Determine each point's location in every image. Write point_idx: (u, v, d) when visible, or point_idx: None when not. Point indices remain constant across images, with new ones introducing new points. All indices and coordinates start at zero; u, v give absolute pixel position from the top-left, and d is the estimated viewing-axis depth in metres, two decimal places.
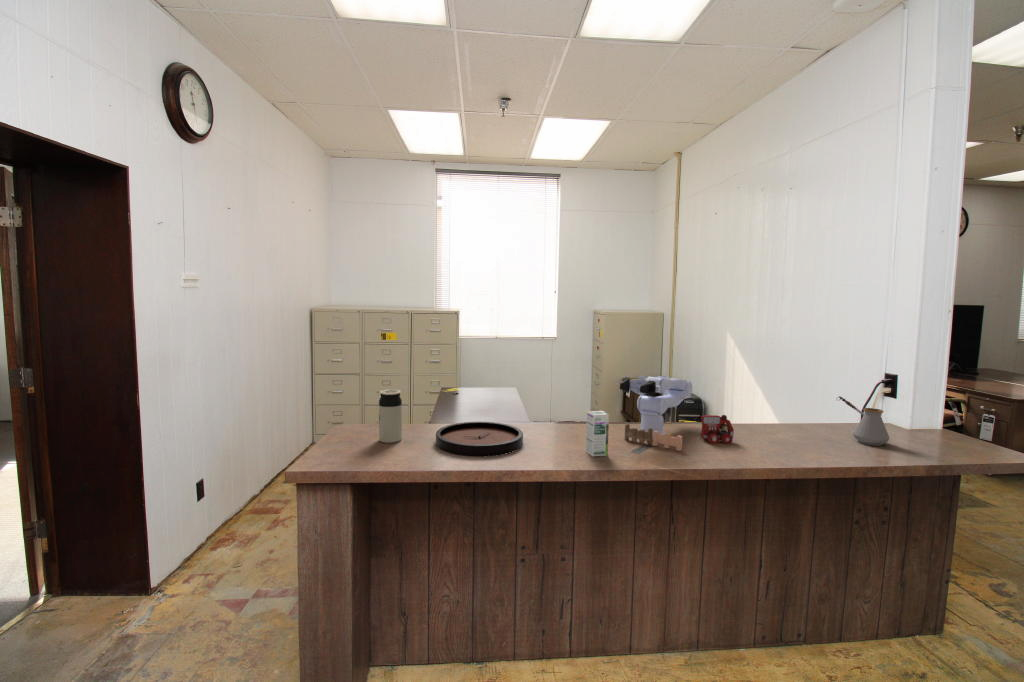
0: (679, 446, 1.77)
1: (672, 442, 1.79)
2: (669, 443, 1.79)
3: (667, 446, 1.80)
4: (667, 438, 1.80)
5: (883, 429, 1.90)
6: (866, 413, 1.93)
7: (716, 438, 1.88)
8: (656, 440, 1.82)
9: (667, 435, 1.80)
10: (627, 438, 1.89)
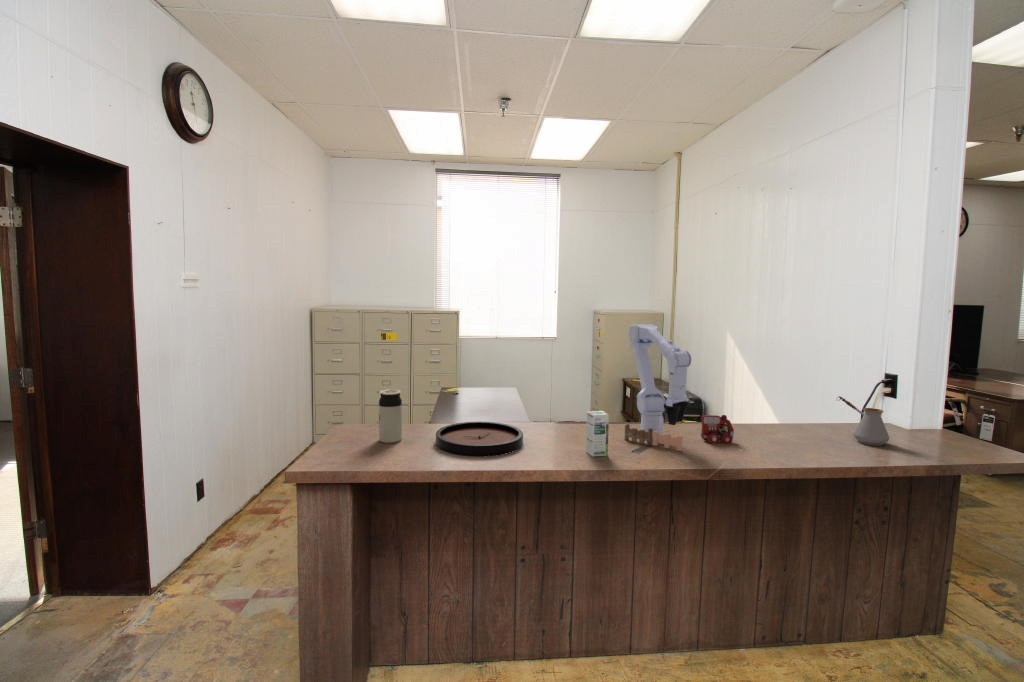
0: (679, 446, 1.77)
1: (672, 442, 1.79)
2: (669, 443, 1.79)
3: (667, 446, 1.80)
4: (667, 438, 1.80)
5: (883, 429, 1.90)
6: (866, 413, 1.93)
7: (716, 438, 1.88)
8: (656, 440, 1.82)
9: (667, 435, 1.80)
10: (627, 438, 1.89)
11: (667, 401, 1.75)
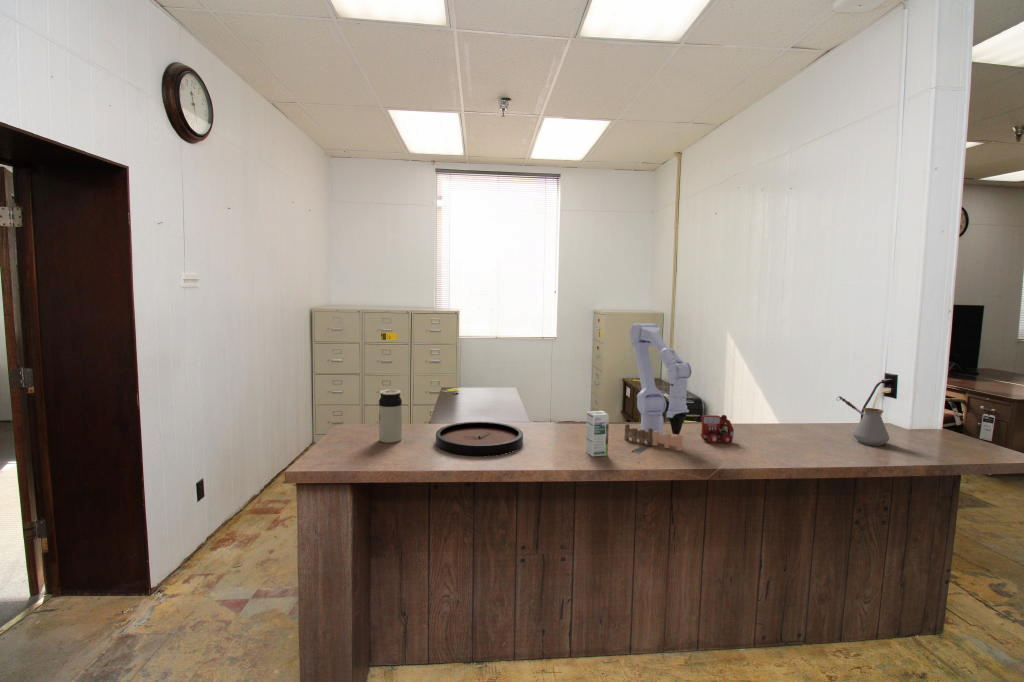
0: (679, 446, 1.77)
1: (672, 442, 1.79)
2: (669, 443, 1.79)
3: (667, 446, 1.80)
4: (667, 438, 1.80)
5: (883, 429, 1.90)
6: (866, 413, 1.93)
7: (716, 438, 1.88)
8: (656, 440, 1.82)
9: (667, 435, 1.80)
10: (627, 438, 1.89)
11: (667, 412, 1.76)
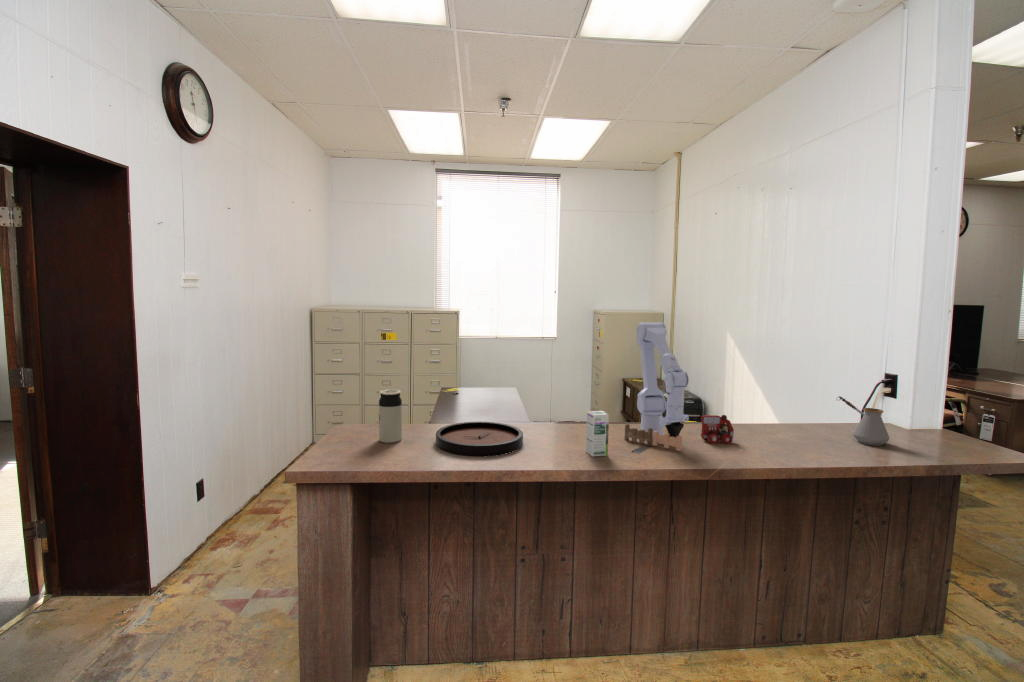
0: (679, 446, 1.77)
1: (672, 442, 1.79)
2: (669, 443, 1.79)
3: (667, 446, 1.80)
4: (667, 438, 1.79)
5: (883, 429, 1.90)
6: (866, 413, 1.93)
7: (716, 438, 1.88)
8: (656, 440, 1.82)
9: (667, 435, 1.79)
10: (627, 438, 1.89)
11: (660, 421, 1.76)
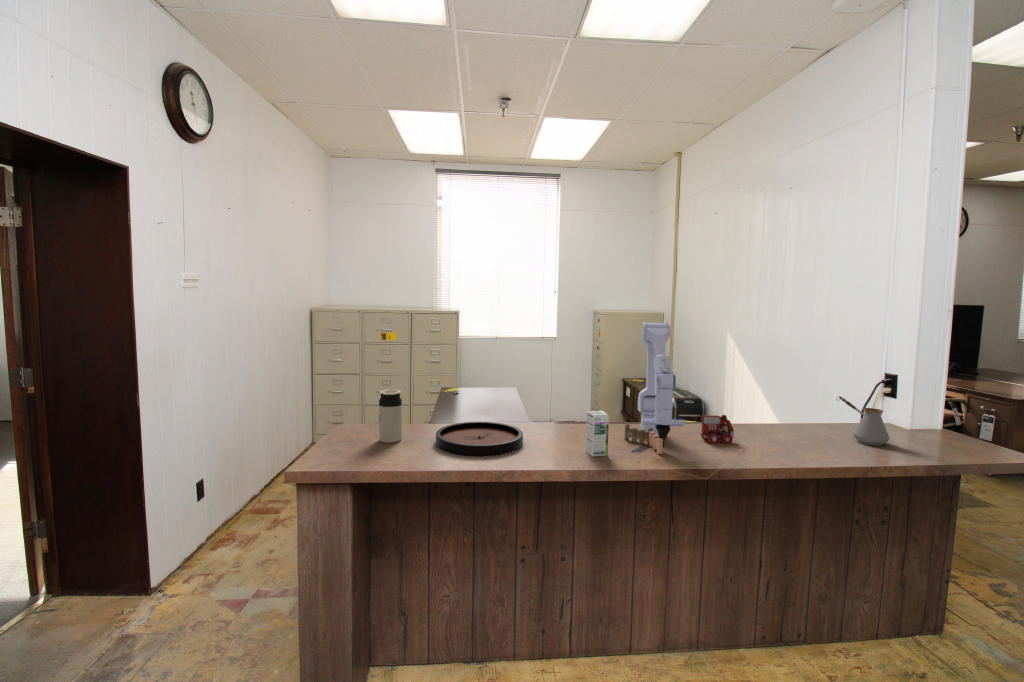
0: (658, 449, 1.73)
1: (656, 444, 1.76)
2: (655, 445, 1.77)
3: (654, 448, 1.78)
4: (654, 439, 1.78)
5: (883, 429, 1.90)
6: (866, 413, 1.93)
7: (716, 438, 1.88)
8: (650, 440, 1.82)
9: (654, 436, 1.77)
10: (627, 438, 1.89)
11: (641, 420, 1.77)
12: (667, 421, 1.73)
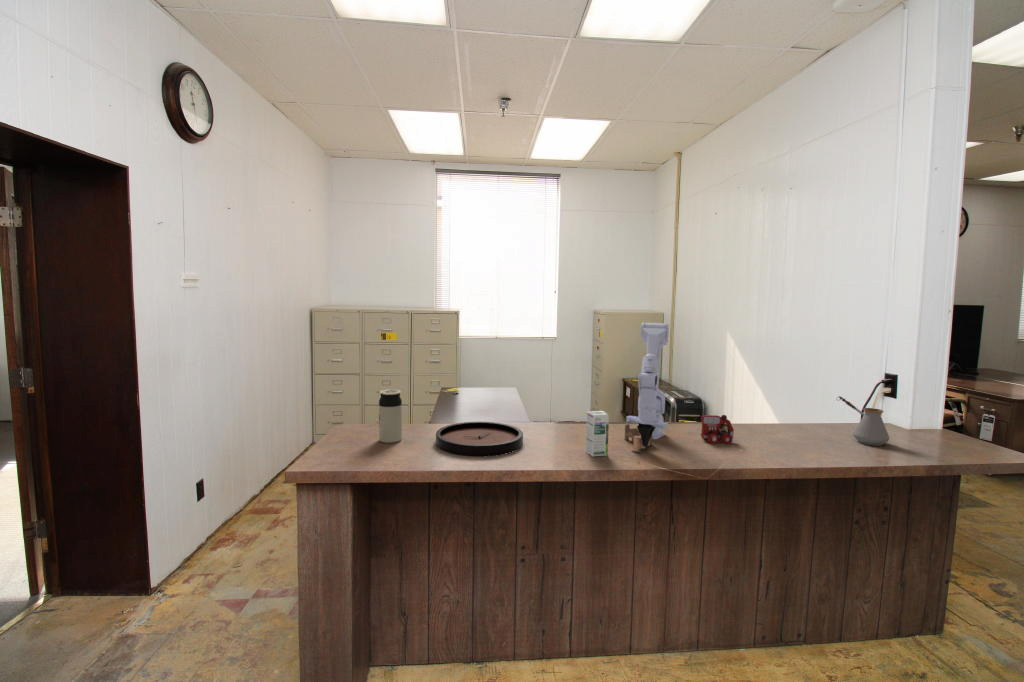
0: None
1: None
2: None
3: None
4: None
5: (883, 429, 1.90)
6: (866, 413, 1.93)
7: (716, 438, 1.88)
8: None
9: None
10: (627, 438, 1.89)
11: None
12: (645, 420, 1.73)
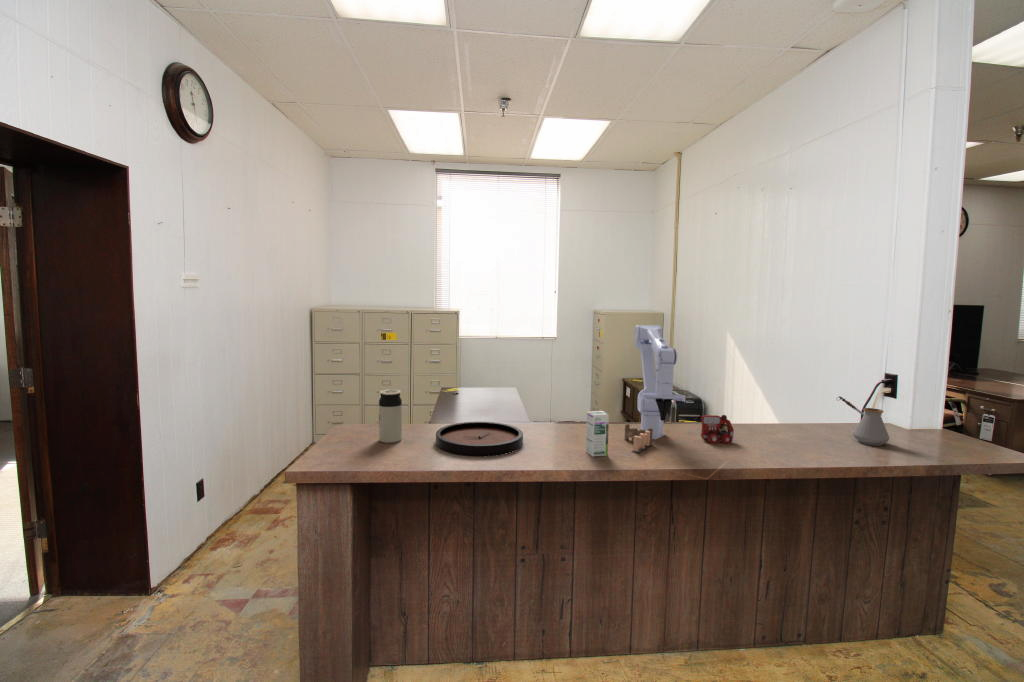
0: None
1: None
2: None
3: None
4: None
5: (883, 429, 1.90)
6: (866, 413, 1.93)
7: (716, 438, 1.88)
8: None
9: None
10: (627, 438, 1.89)
11: (642, 394, 1.82)
12: (667, 395, 1.78)
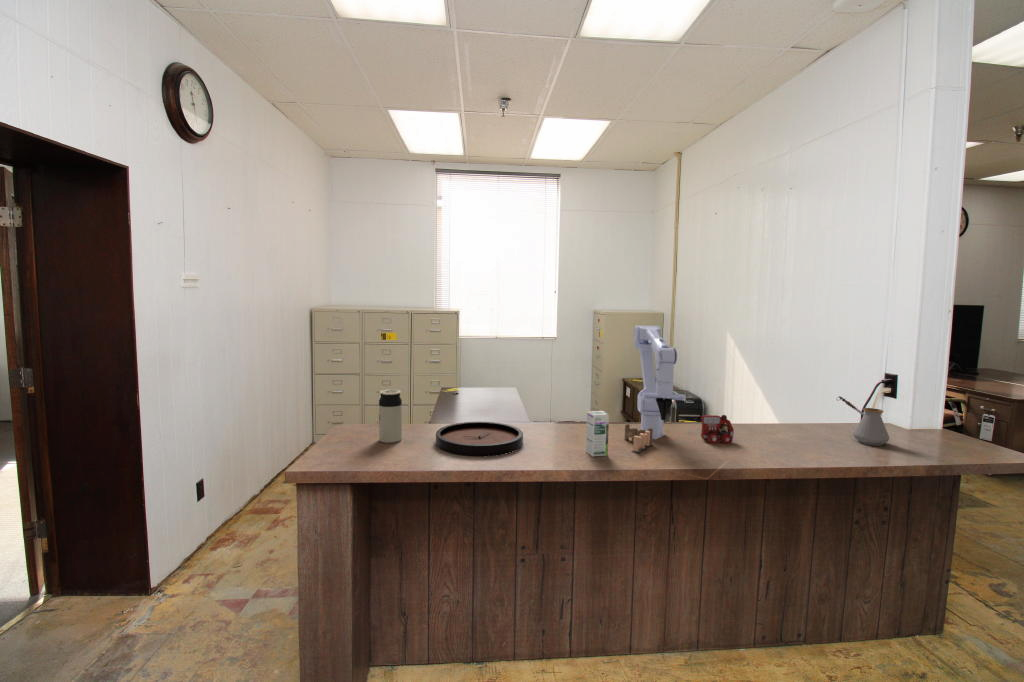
0: None
1: None
2: None
3: None
4: None
5: (883, 429, 1.90)
6: (866, 413, 1.93)
7: (716, 438, 1.88)
8: None
9: None
10: (627, 438, 1.89)
11: (643, 393, 1.82)
12: (667, 394, 1.78)
